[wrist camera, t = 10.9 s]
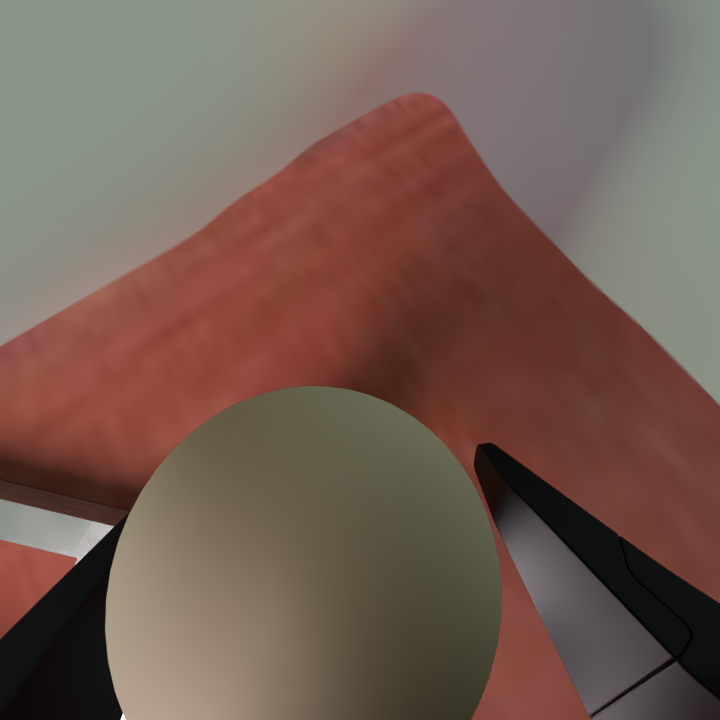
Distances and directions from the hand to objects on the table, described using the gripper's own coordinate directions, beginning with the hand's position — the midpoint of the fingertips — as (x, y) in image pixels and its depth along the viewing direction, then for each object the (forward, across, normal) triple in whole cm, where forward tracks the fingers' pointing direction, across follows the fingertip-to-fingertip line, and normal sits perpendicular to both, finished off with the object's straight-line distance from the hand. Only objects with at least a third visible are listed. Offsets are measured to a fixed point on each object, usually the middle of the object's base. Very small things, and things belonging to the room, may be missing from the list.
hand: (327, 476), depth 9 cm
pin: (+5, 0, +6) cm, 8 cm away
